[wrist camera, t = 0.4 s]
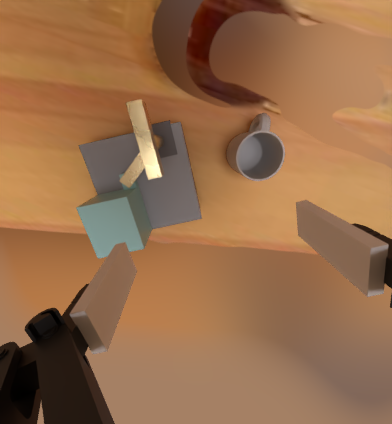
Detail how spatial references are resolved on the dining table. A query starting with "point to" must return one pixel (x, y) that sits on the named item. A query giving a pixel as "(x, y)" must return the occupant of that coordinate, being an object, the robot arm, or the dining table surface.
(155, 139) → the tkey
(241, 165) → the cup
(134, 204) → the cover
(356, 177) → the dining table surface
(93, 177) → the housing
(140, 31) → the dining table surface
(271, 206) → the dining table surface
